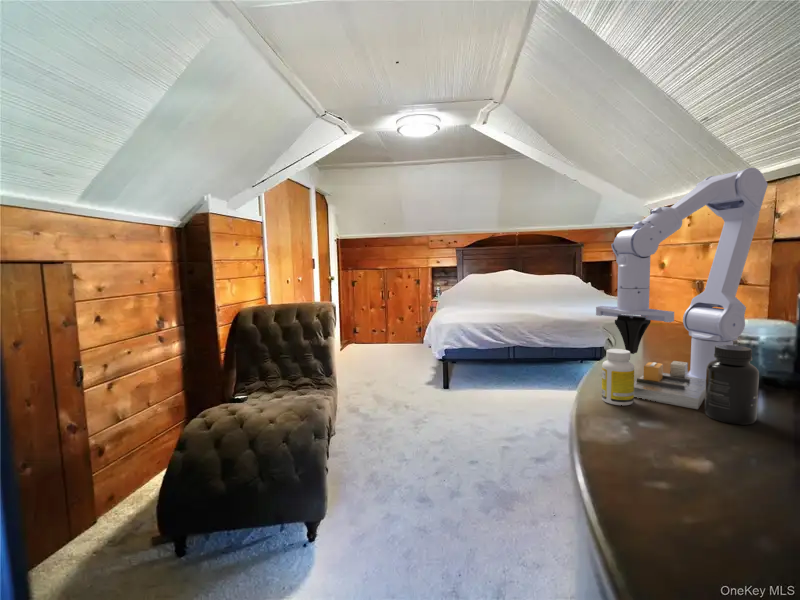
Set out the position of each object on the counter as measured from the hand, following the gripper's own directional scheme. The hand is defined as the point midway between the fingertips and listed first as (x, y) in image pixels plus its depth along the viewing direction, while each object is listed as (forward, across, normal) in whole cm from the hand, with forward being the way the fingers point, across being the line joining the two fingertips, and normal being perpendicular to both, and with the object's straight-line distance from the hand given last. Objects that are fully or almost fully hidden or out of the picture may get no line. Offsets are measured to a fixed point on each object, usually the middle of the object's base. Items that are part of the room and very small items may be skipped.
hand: (631, 352), depth 85 cm
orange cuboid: (+5, +4, +1) cm, 6 cm away
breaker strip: (+7, +7, +1) cm, 10 cm away
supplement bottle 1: (+8, +2, -11) cm, 13 cm away
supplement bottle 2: (+7, +18, -5) cm, 20 cm away
